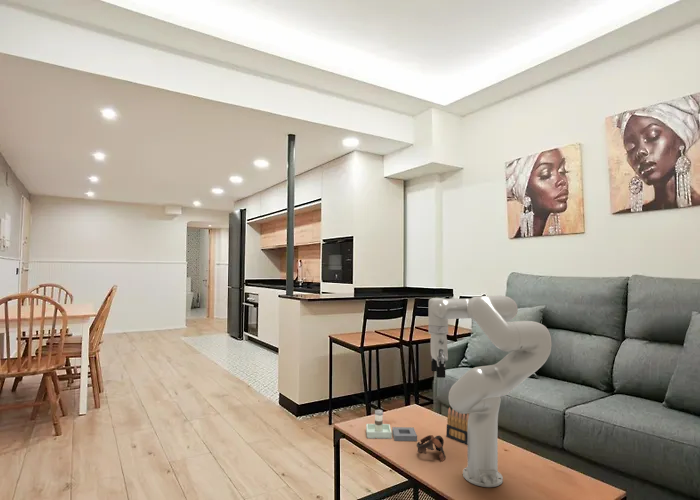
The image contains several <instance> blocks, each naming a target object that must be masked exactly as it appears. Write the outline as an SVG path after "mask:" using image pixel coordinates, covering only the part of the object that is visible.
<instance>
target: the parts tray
mask: <svg viewBox="0 0 700 500" xmlns="http://www.w3.org/2000/svg"><path fill="white" fill-rule="evenodd" d="M365 426H366V427H365V431H366V432H365V433H366V439H375V438H377V439H381V440H383V439H385V440H387V439H389V440H392V439H393V437H392V436H393V433H392V428H391V424H390V423H383V432H375V423H366V425H365Z"/></svg>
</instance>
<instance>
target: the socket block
mask: <svg viewBox="0 0 700 500" xmlns="http://www.w3.org/2000/svg"><path fill="white" fill-rule="evenodd" d="M391 432H392V436H393V439H394V440H393V441H394V442H418V435H417V432H416V430H415V428H414V427H412V426H411V427H405V426H401V427H399V426H397V427H396V426H395V427H394V426H392V428H391Z"/></svg>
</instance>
